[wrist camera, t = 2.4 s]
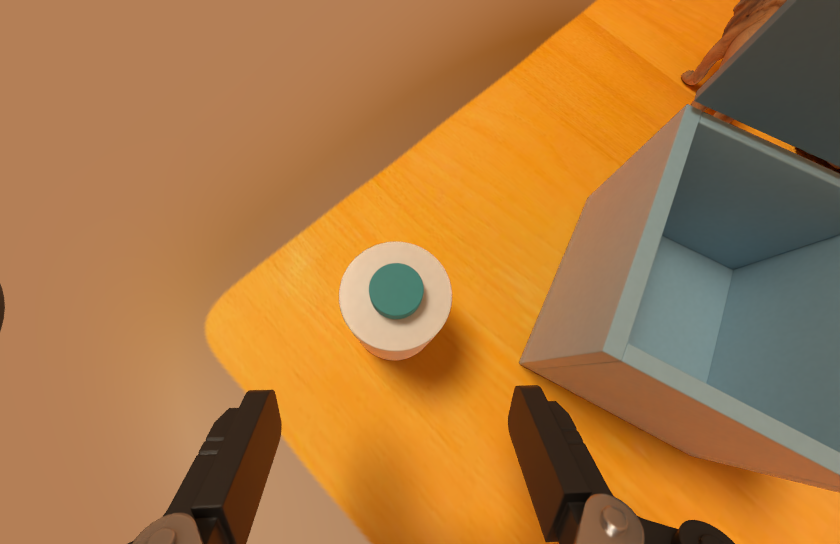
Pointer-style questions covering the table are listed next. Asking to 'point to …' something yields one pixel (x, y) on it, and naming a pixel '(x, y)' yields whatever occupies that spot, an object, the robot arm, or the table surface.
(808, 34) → the lid
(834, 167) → the tank toy
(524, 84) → the table surface
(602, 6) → the table surface
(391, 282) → the detergent bottle
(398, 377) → the table surface
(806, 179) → the washer
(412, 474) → the table surface
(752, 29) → the lion figurine
